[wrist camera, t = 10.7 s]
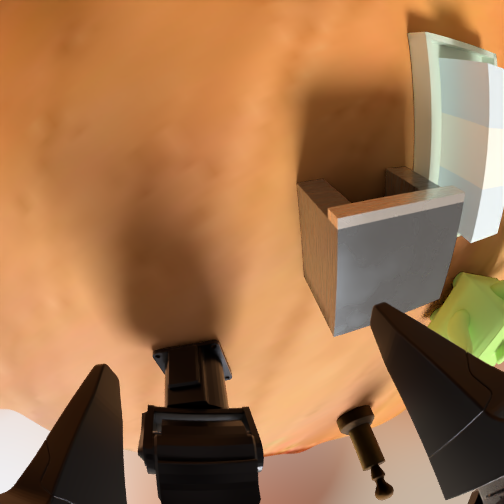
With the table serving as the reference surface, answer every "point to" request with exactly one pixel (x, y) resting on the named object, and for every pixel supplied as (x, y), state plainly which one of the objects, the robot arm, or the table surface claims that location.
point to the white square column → (473, 142)
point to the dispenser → (377, 246)
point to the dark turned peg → (366, 446)
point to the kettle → (474, 317)
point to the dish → (434, 93)
